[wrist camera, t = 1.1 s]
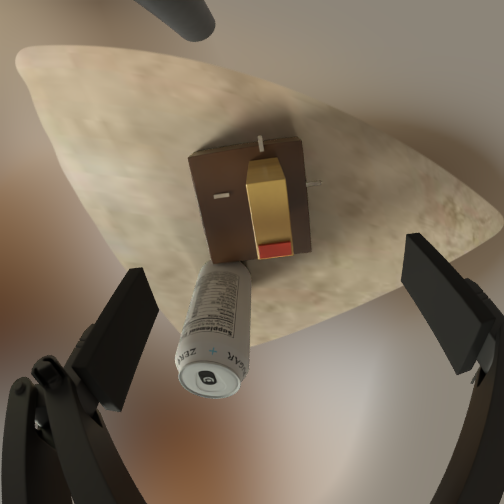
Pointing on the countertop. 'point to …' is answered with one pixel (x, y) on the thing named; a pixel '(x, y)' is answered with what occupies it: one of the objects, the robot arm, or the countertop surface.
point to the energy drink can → (216, 332)
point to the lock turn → (269, 208)
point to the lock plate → (236, 199)
